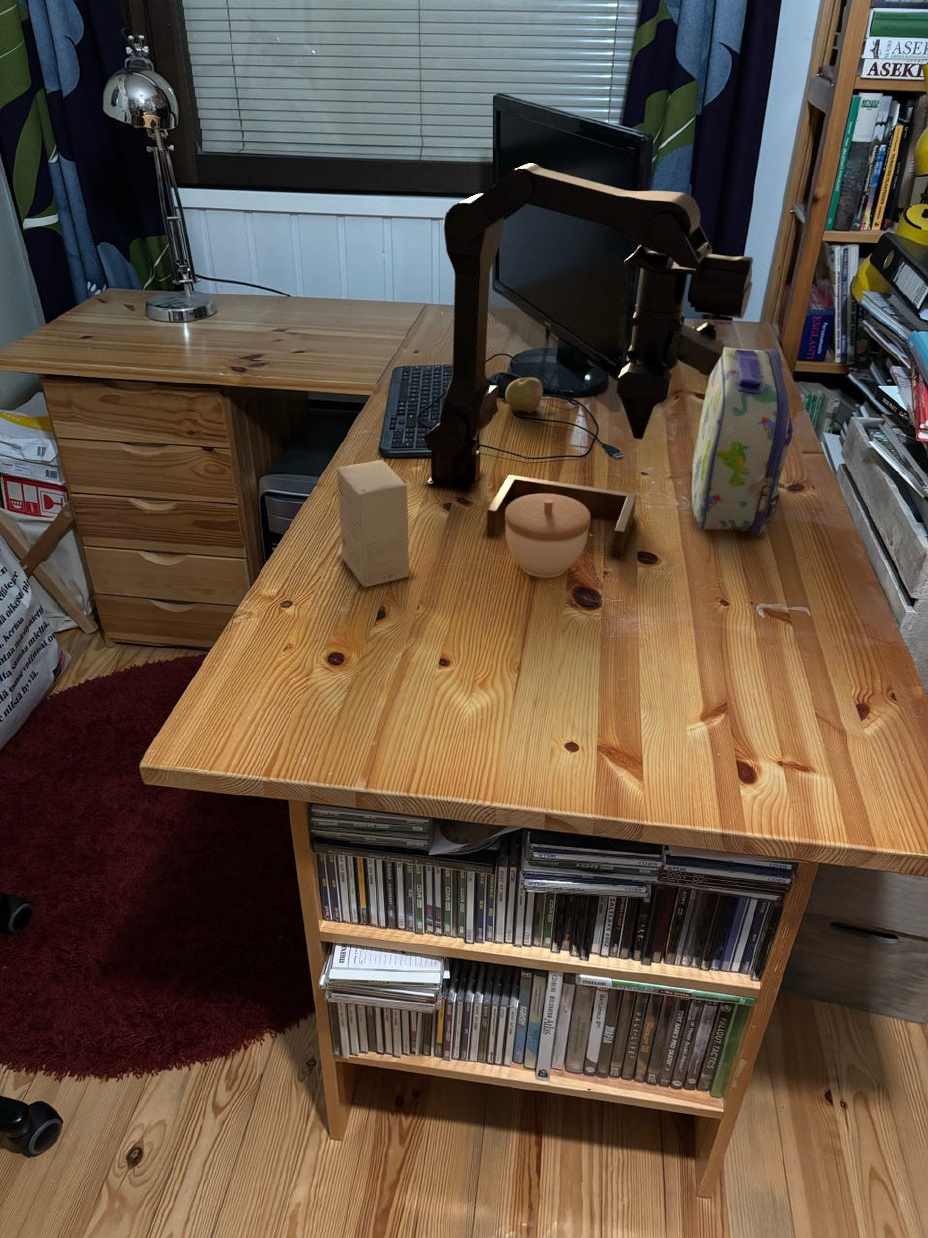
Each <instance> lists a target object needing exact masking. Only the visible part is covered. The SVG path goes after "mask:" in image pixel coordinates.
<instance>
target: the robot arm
mask: <svg viewBox="0 0 928 1238" xmlns="http://www.w3.org/2000/svg"><path fill="white" fill-rule="evenodd" d="M526 205H530V206H534V207H537V208H541V209H544V210H547V211H552V212H555V213H559V214H562V215H567V216H568V217H569V216H570V217H574V218H577V219H581V220H584V221H588V222H592V223H596V224H599V225H602V226H606V227H610V228H613V229H615V230H616V231H618V232H620V233H622V234H623V235H624V236H625V237H627V238H628V239H630V240H631V241H632V242H634V243H636V244H638V245H639V246H638V247H637V249H636V250H635V251H634V253H632V254H630V256H628V258H626V259H625V260H624V262H623V265H624V266H626V267H629V268H639V269H640V272H639V279H638V287H637V294H636V295H637V296H636V303H635V310H634V314H633V316H632V321H631V327H632V333H631V334H632V335H631V341H630V346H629V349H628V353H627V359H630V360H631V361H632V362H629V363H628V364H626V365H625V366H624V367H622V368H621V369H620V372H619V375H618V377H617V384H616V391H615V393H616V394H617V396H618V397H619V399H620V401H621V403H622V406H623V409H624V412H625V414H626V418H627V421H628V424H629V427H630V431H631V433H632V436H633V439H635V440H643V438H644V436H645V433H646V430H647V428H648V425H649V422H650V419H651V417H652V414H653V411H654V408H655V407H656V406H657V405H660V404H662V403H664V402H666V401H667V400H668V398H669V394H670V390H671V385H672V380H673V374H672V372H671V370H672V369H674V368H675V367H676V366H677V365H678V363H679V362H681V363H682V364H684V365H687V366H689V367H691V368H693V369H694V370H696V371H698V372H699V374H700V375H702V376H706V377H710V375H711V373H712V371H713V369H714V368H715V366H716V364H717V362H718V361H719V359H720V357H721V356H722V354H723V349H724V347H725V345H724V343H723V340H722V339H720V338H719V339H718V325H716V324H714V323H712V322H710V321H706V322H705V323H703V324H702V325H700V326H698V328H697V327H696V326H693V327H690V326H688V325H686V324H685V319H686V314H684V311H683V310H684V304H685V298H686V293H687V303H690V304H689V307H690V308H694V312H695V313H698V314H706V315H712V316H719V317H724V318H725V317H726V318H733V319H739V320H742V319H743V318H744V316H745V314H746V312H747V308H748V305H749V301H750V298H751V297H750V296H751V292H752V287H753V282H752V277H753V263H754V258H753V257H752V256H744V255H741V256H740V255H739V256H731V255H723V254H722V255H721V254H715V253H714V254H713V248H712V246H711V244H710V242H709V240H708V238H707V235H706V234H705V231H703V228H702V226H701V212H700V211H701V210H700V208H699V206H698V204H697V201H696V200H695V198H694V197H692V195H690V194H687V193H685V192H679V191H665V190H642V191H641V190H640V191H639V190H637V191H636V190H625V189H621V188H617V187H615V186H610V185H606V184H603V183H600V182H595V181H591V180H588V179H584V178H580V177H577V176H572V175H570V174H566V173H561V172H557V171H554V170H551V169H546V168H543V167H541V166H539V164H536V163H527V164H524V165H522V166H520V167H518V168H517V167H516V168H515V169H513V170H512V171H511V172H510V173H509V174H508V175H507V177H505V178H504V179H503V180H501V181H500V182H498V183H497V184H495V185H494V186H492V187H490V188H489V189H488V190H486V191H485V192H484V193H478V194H475V195H473V196H470V197H469V198H467V199H463V200H462V201H460V202H458V203H455V204H453V205H452V206H451V207H450V208H449V209H448V210H447V211H446V212H445V215H444V217H443V222H442V223H443V224H442V226H443V234H444V243H445V249H446V254H447V257H448V260H449V262H450V264H451V266H452V269H453V271H454V272H453V274H454V293H453V294H454V295H453V304H454V305H453V328H452V329H453V335H452V367H451V368H452V372H451V373H452V374H451V379H450V381H449V384H448V386H447V390H446V392H445V395H444V397H443V402H442V406H441V413H440V417H439V423H438V424H437V425H436V426H435V427H433V428H432V429H430V431H428V433H426V434H425V435H424V436H423V438H424V441H425V445H426V448H427V450H428V451H430V477H429V479H428V480H427V482H426V484H427V486H429V487H434V488H435V487H437V488H441V489H442V488H443V489H447V490H456V491H461V492H468V491H470V490H471V488H472V487H473V486H474V484H475V483H476V482H477V481H478V480H479V478H480V476H481V451H480V450H478V440H477V439H475V438H476V437H477V436H479V435H480V434H481V432H482V431H483V430H484V429H485V428H486V427H487V426H488V425H489V424H491V422H492V421H493V420H494V416H495V415H496V414H497V413H498V412H499V408H498V402H497V401H498V394H499V390H500V389H499V385H490V382H489V380H488V378H487V375H486V362H487V361H486V360H487V343H488V342H487V337H488V318H489V300H490V299H489V298H490V297H489V296H490V279H491V277H490V276H491V270H492V267H493V263H494V261H495V258H496V256H497V253H498V251H499V248H500V244H501V240H502V235H503V231H504V226H505V221H506V220H507V219H509V218H510V217H512V216H513V215H515V214H516V213H517V212H518V211H519V210H520V209H522V208H523V207H525V206H526ZM689 275H691V276H690V282H689V285H688V278H689ZM687 285H688V290H687ZM686 291H687V292H686Z"/></svg>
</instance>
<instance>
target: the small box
mask: <svg viewBox="0 0 928 1238" xmlns="http://www.w3.org/2000/svg"><path fill="white" fill-rule="evenodd" d="M336 479H337V495H338V496H337V497H338V508H339V509H338V511H339V526H340V527H339V528H340V542H341V543H340V544H341V559H342V560H343V561H344V562H345V564H346V565H347V567H348V568H349V569H350V571H351V572H352V573H353V575H354V576H355V578H356V579H357V580H358V582H359V583H360V584H361V585H362V587H363V588H368V587H371V586H372V587H373V586H376V585H380V584H385V583H389V582H393V581H398V580H400V579H404V578H408V577H410V556H409V555H410V554H409V517H408V516H409V515H408V513H409V511H408V484H407V483H405V481H404V480H403V479H402V478H401V477H400V476H399V475H398V474H397V473H396V472H395V471H394V469H392V468H391V467H390V465H388V464H387V463H386V461H384V459H378V460H373V461H368V462H361V463H356V464H349V465H345V466H340V467H337V468H336Z"/></svg>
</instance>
